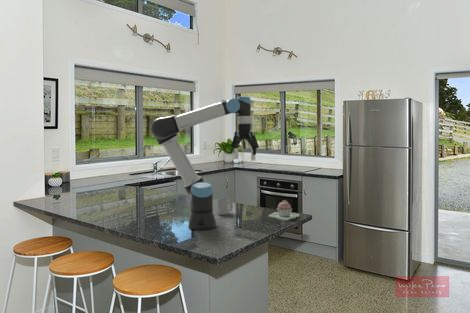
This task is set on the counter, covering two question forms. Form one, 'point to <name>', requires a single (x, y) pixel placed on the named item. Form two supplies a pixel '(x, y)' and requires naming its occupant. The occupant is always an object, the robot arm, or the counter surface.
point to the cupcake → (284, 209)
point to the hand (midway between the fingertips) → (244, 159)
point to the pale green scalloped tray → (276, 216)
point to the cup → (223, 206)
